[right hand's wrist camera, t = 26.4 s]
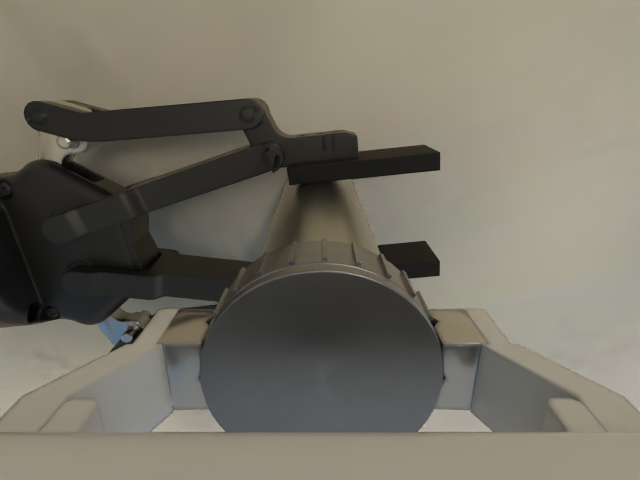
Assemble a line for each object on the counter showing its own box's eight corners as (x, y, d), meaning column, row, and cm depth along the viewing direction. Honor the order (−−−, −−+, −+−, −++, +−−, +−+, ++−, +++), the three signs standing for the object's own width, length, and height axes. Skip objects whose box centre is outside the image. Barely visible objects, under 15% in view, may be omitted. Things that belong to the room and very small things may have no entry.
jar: (279, 210, 26) (217, 399, 10) (295, 146, 24) (253, 249, 8) (341, 227, 26) (376, 434, 10) (361, 165, 25) (438, 297, 9)
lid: (209, 405, 11) (191, 458, 9) (222, 221, 9) (202, 248, 7) (400, 428, 11) (414, 483, 9) (451, 254, 9) (478, 287, 8)
